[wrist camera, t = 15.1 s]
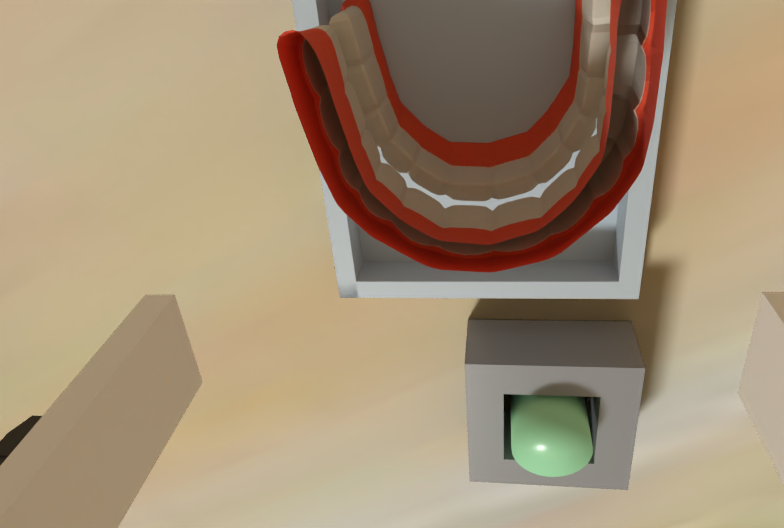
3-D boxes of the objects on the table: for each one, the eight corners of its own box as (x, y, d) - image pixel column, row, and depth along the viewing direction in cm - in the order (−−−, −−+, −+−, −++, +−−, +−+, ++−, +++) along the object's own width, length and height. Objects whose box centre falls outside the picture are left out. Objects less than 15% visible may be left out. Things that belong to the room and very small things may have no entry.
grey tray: (345, 282, 36) (333, 313, 34) (282, -121, 26) (259, -122, 24) (635, 283, 33) (647, 316, 31) (691, -169, 23) (715, -176, 21)
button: (510, 416, 38) (511, 474, 34) (510, 363, 36) (511, 419, 32) (581, 418, 38) (590, 479, 34) (585, 364, 35) (595, 422, 32)
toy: (373, 210, 32) (339, 296, 26) (324, -2, 27) (267, 35, 21) (628, 181, 30) (667, 269, 23) (626, -62, 25) (675, -42, 18)
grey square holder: (472, 431, 41) (469, 481, 37) (468, 319, 36) (464, 364, 33) (616, 437, 39) (627, 489, 36) (631, 321, 35) (645, 368, 31)
